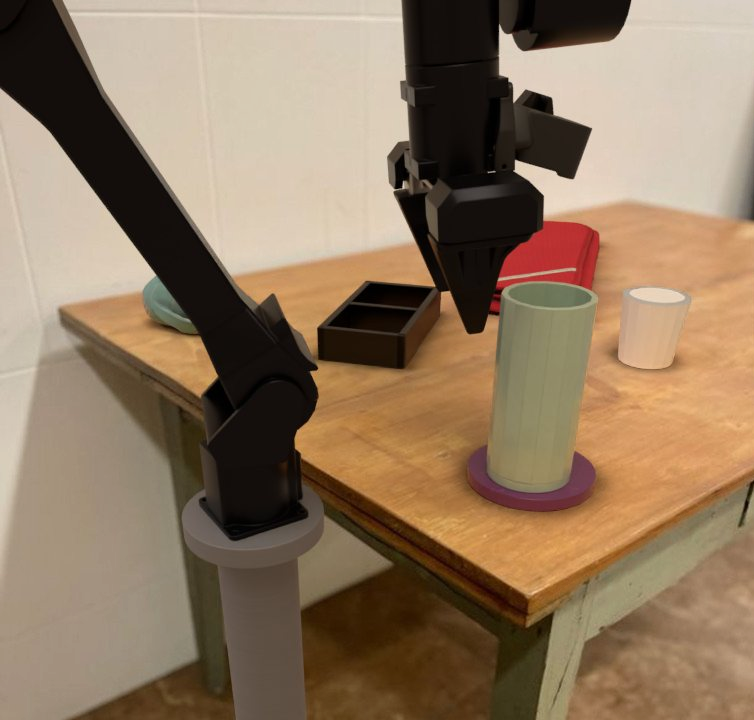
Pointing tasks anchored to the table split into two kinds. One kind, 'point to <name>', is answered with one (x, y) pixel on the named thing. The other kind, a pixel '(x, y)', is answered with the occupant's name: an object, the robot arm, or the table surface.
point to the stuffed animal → (165, 307)
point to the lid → (548, 501)
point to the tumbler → (539, 384)
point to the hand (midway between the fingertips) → (459, 310)
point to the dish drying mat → (552, 258)
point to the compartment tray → (379, 324)
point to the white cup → (651, 325)
